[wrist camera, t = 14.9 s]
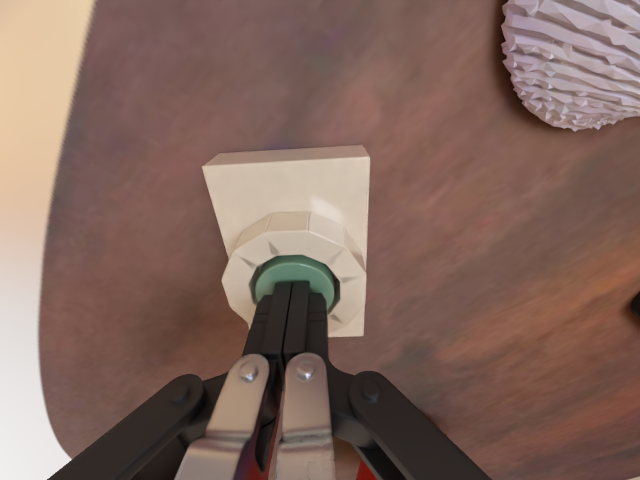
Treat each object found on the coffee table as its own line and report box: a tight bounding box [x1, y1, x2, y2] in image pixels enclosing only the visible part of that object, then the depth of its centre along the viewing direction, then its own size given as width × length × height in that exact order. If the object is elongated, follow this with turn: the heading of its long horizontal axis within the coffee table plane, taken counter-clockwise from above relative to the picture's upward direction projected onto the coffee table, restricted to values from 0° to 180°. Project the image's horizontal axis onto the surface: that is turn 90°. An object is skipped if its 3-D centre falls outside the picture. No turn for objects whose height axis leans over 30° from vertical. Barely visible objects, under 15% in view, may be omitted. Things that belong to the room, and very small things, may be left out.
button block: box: [202, 145, 370, 337], centre depth 14 cm, size 11×7×4 cm, turn 3°
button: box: [255, 255, 334, 310], centre depth 13 cm, size 4×4×2 cm
